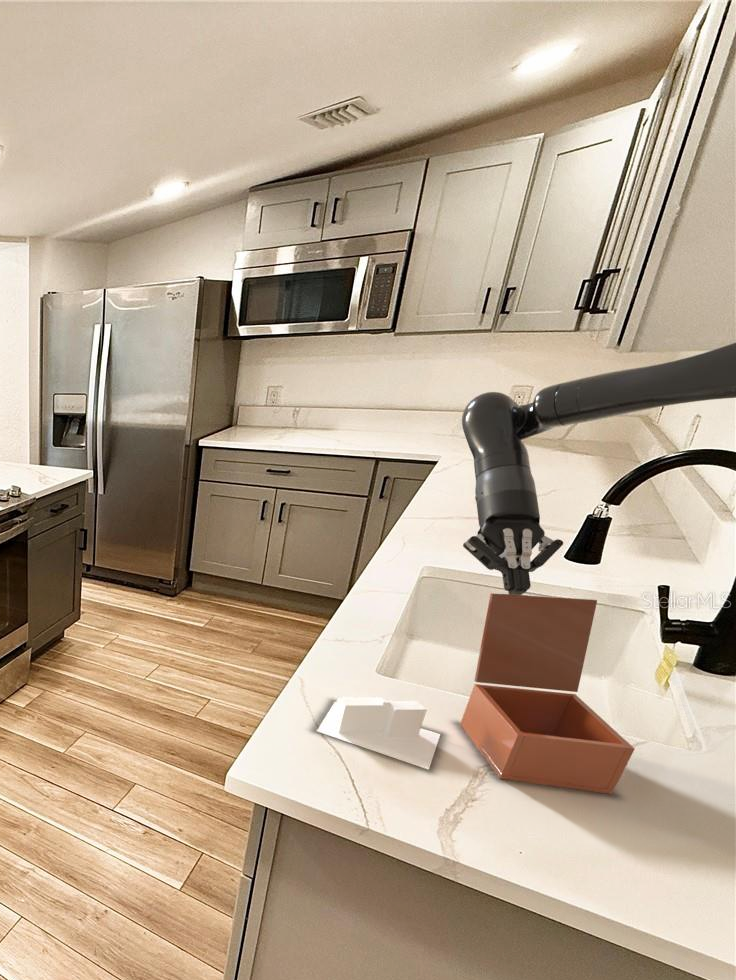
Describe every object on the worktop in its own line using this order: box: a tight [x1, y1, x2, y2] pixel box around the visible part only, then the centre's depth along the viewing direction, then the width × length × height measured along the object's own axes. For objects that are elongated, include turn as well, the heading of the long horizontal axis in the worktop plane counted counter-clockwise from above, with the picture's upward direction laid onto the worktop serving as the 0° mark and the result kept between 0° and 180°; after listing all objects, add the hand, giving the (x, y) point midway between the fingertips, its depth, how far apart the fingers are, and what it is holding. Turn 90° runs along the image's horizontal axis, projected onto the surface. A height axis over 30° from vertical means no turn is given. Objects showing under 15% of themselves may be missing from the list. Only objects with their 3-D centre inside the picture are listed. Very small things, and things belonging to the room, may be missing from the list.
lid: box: [474, 592, 598, 693], centre depth 93 cm, size 14×13×1 cm
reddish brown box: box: [459, 683, 635, 795], centre depth 91 cm, size 14×13×8 cm
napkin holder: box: [316, 696, 441, 771], centre depth 98 cm, size 15×11×6 cm
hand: (518, 592), depth 98 cm, fingers closed
